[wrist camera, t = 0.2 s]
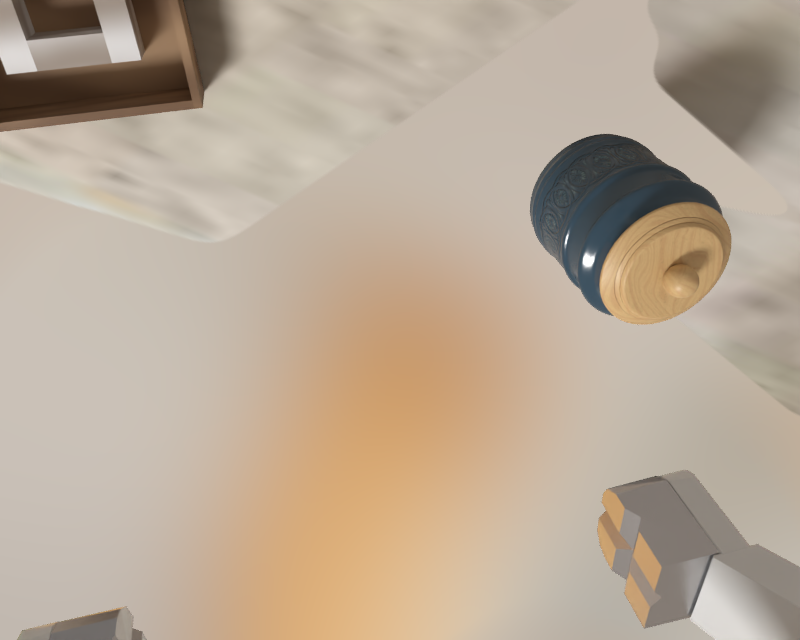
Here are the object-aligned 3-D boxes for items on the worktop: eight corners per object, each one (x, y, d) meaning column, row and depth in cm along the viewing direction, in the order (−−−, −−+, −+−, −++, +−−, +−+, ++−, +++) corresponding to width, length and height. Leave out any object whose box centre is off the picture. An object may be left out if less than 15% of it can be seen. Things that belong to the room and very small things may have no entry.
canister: (631, 250, 69) (733, 351, 55) (516, 256, 67) (593, 363, 52) (667, 129, 62) (796, 209, 48) (540, 130, 59) (637, 215, 45)
